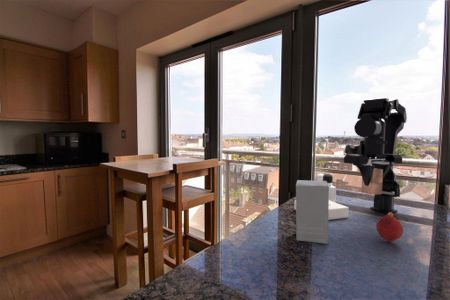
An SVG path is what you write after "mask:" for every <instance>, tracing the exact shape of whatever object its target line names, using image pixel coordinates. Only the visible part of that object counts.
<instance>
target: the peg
mask: <svg viewBox="0 0 450 300" xmlns="http://www.w3.org/2000/svg"><path fill="white" fill-rule="evenodd" d="M382 178H383V169H377V168H374V170H373V173H372V177H371V180H370V183H369V185H368V186H366V185H365V184H364V181H363V178H362V177H361V192H360V193H364V194H367V195H372V196H374V195H377V194H382Z"/></svg>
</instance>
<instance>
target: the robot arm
mask: <svg viewBox="0 0 450 300" xmlns="http://www.w3.org/2000/svg"><path fill="white" fill-rule="evenodd" d="M406 109H407V108H406V107H405V106H403V105H402V104H401V103H399V99H398V98H396V97H395V98H388V96H387V97H385V96H384V97H376V98H365V99H364V100H363V102H362V103H361V105H360V108H359V111H358V114H357V119H358V120H357V121H356V122H355V124H354V128H353V129H354V132H355V134H356V135H357V136H358V137H361V138H363V139H362V140H360V141H359V144H358V145H354V144H351V143H350V144H346V145H345V148H344V152H345V155H344V157H343V163H344V164H350V165H353V166H355V167H356V168H357V170H359V173H360V176H361V179H362V178H363V181H364V184H365V185H366V186H368V185H369V183H370V180H371V177H372V173H373V170H374V168H377V169H383V178H382V194H377V195H373V196H374V197H373V204H372V205H373V206H370V209H371V210H373V211H374V210H375V211H376V212H380V213H383V214H388V213H398V210H397V209H395V208H394V207H395V198H399V197H401V185H400V184H399V180H398V177H397V175H396V174H395V171H394V164H397V165H398V164H403V156H402V155H401V154H396V150H397V143H398V142H397V141H398V134H400V132H402V130H403V129H404V127H405V123H407V121H408V120H407V119H408V117H407V116H408V115H407V110H406ZM393 110H394V111H393Z"/></svg>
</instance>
